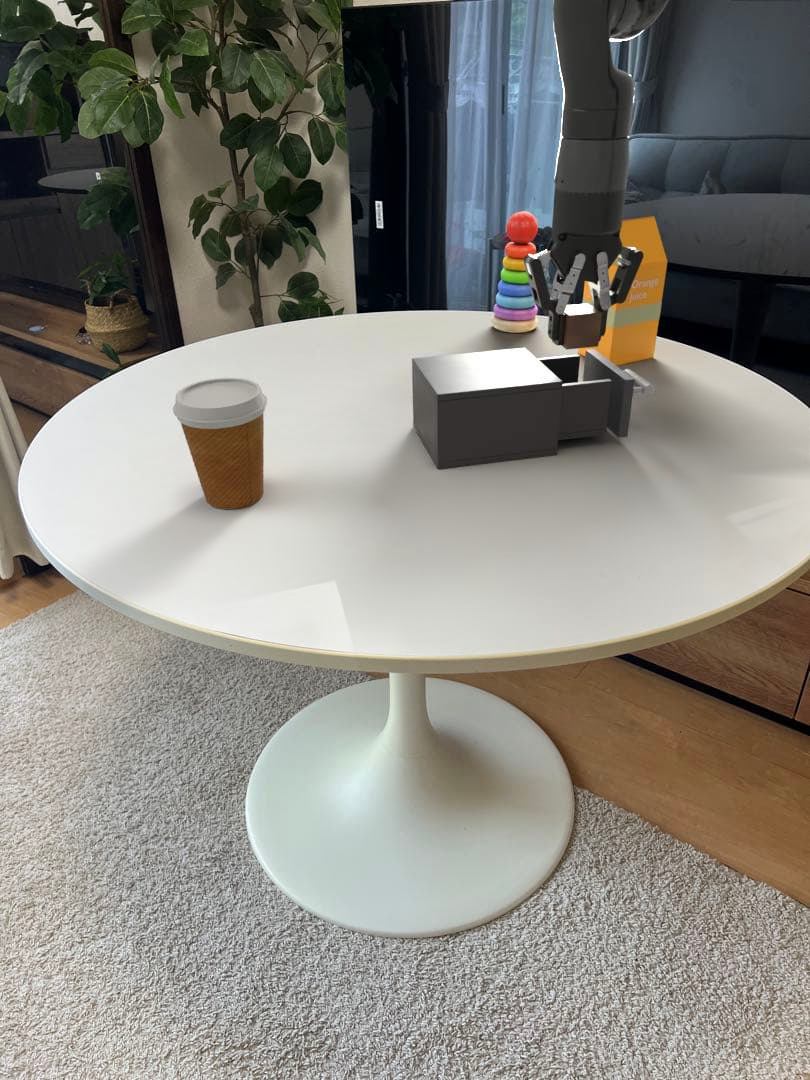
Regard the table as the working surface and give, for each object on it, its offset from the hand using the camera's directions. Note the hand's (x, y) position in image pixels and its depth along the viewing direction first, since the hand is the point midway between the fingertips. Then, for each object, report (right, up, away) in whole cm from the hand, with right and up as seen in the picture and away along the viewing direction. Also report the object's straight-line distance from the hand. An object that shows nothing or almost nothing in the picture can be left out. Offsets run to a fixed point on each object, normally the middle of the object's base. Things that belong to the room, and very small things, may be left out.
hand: (576, 340), depth 93 cm
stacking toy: (-1, +13, +44) cm, 45 cm away
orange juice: (+13, +5, +30) cm, 33 cm away
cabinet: (-11, -11, +4) cm, 16 cm away
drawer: (+1, -9, +6) cm, 11 cm away
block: (0, 0, 0) cm, 0 cm away
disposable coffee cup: (-39, -19, -6) cm, 44 cm away
